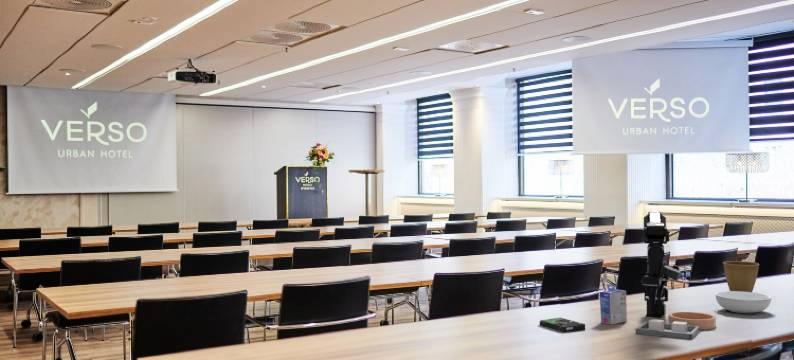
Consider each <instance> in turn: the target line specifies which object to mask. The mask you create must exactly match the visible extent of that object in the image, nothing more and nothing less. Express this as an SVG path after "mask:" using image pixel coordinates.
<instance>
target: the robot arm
mask: <svg viewBox="0 0 794 360" xmlns="http://www.w3.org/2000/svg"><path fill="white" fill-rule="evenodd" d="M643 231H644V244H648V245H647V247H646V248H647V253H646V254H647V259H646V260H647V261H646V262H645V265H647V272H646V273H645V274H646V275H644V276H643V277H641V279H640V280H641V281H640V282H641V285H642V287H643V288H644V289H643V290H644V295H643V296H644V297H643V299H644V302H646V314H645V317H653V318H663V317H665V316H666V313H667V312H666V311H667V309H666V308H667V307H666V304H665V302H669V289H667V288H668V287H667V286H665V285H666V284H667V283H668V282H670V279H671V280H673V281H676V282H677V281H678V280H679V279H680V276H681V275H682V270H680V266H679V265H676V264H675V265H673V266H668V265H667V261H665V253H666V252H665V245H667V244H668V243H669V241H670V240H669V239H670V238H669V230H668V228H667V217H666V216H664V215H663V214H662V211H659V210H650V211H648V212H647V215H645V216H644V217H643Z"/></svg>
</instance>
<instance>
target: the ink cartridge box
mask: <svg viewBox="0 0 794 360" xmlns="http://www.w3.org/2000/svg"><path fill="white" fill-rule="evenodd" d="M606 287H607V289H608V290H604V291H599V303H600V304H599V307H600V323H601V324H606V325H614V324H615V325H616V324H620V323H621V324H622V323H627V321H628V316H627V315H628V314H627V313H628V311H627V309H628V308H627V291H626V290H625V289H624V290H623V289H616V288H615V285H614V284H613V283H612V284H606ZM610 287H611V288H610Z"/></svg>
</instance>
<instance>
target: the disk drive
mask: <svg viewBox="0 0 794 360" xmlns="http://www.w3.org/2000/svg"><path fill="white" fill-rule="evenodd" d="M539 326H540V327H544V328H547V329H550V330H554V331H556V332H559V333H564V334H565V333H571V332H572V333H573V332H580V331H586V324H585V323H582V322H578V321H575V320H570V319H567V318H563V317H554V318H548V319H540V321H539Z"/></svg>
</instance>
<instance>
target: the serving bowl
mask: <svg viewBox="0 0 794 360" xmlns="http://www.w3.org/2000/svg"><path fill="white" fill-rule="evenodd" d="M715 300H716V302H717V304H718V305H719V306H720V307H722V308H723V309H725V310H728V311H731V312H732V313H737V314H747V315H748V314H755V313H760V312H763V311H765V310H766V309H768V308H769V306H770V305H771V301H772V296H770V295H769V294H765V293H760V292H753V291H752V292H741V291H730V290H728V291H725V290H724V291H718V292H716V293H715Z"/></svg>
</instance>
